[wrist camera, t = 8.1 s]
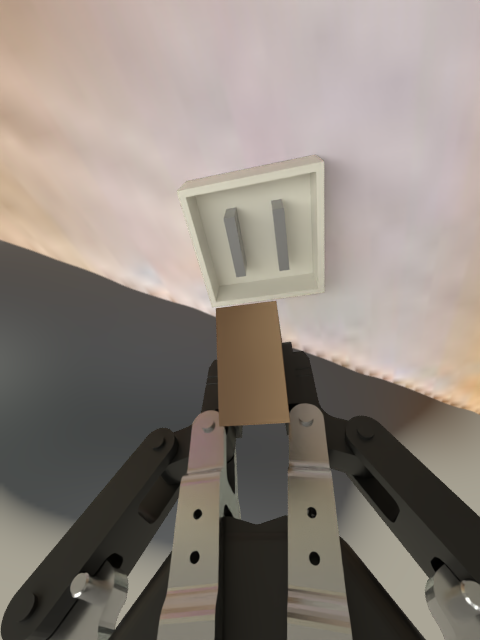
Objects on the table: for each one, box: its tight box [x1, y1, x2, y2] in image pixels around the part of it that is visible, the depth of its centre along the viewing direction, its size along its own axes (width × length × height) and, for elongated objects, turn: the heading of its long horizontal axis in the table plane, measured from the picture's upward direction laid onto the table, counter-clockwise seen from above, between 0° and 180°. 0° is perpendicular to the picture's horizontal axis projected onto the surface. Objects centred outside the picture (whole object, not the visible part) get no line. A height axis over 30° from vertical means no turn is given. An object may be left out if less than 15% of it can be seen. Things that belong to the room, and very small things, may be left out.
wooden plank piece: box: [216, 301, 290, 427], centre depth 15 cm, size 2×4×12 cm
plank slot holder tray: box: [177, 155, 324, 307], centre depth 27 cm, size 12×12×4 cm
